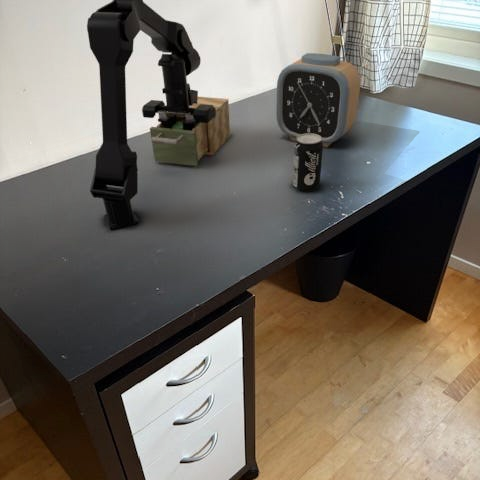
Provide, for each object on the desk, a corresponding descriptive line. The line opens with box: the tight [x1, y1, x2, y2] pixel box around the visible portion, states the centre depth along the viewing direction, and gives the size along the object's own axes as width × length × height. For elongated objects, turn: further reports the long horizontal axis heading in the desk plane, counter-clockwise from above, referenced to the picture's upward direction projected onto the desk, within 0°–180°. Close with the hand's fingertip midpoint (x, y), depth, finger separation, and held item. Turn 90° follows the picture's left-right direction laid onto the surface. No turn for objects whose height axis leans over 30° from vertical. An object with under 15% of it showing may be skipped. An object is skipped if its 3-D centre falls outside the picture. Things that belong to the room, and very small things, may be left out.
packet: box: [172, 121, 184, 130], centre depth 128 cm, size 3×4×6 cm
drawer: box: [149, 116, 209, 167], centre depth 128 cm, size 18×12×9 cm
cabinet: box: [176, 96, 231, 156], centre depth 136 cm, size 15×14×11 cm
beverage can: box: [292, 133, 324, 193], centre depth 113 cm, size 7×7×12 cm
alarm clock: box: [275, 52, 361, 148], centre depth 132 cm, size 21×10×22 cm, turn 58°
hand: (182, 143), depth 129 cm, fingers closed on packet, 3 cm apart
